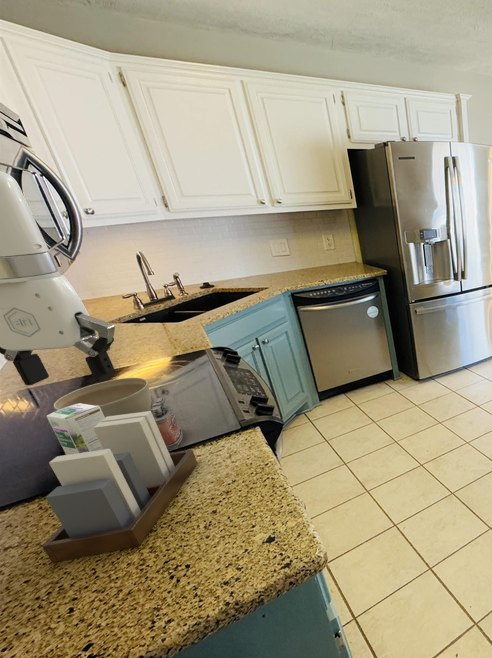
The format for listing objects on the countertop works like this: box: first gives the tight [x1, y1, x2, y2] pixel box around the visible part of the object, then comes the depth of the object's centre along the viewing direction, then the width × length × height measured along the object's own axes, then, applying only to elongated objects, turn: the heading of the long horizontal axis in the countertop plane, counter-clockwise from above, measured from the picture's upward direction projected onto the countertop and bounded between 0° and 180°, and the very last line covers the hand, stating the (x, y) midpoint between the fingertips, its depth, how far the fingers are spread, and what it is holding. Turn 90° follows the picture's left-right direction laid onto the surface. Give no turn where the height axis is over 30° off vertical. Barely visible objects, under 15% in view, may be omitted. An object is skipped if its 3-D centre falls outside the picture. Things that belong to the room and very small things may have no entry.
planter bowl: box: [53, 377, 152, 418], centre depth 96 cm, size 16×16×11 cm
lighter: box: [151, 397, 184, 450], centre depth 93 cm, size 8×3×10 cm, turn 30°
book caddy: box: [41, 449, 199, 564], centre depth 74 cm, size 12×23×4 cm, turn 16°
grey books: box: [45, 452, 151, 538], centre depth 68 cm, size 7×9×12 cm
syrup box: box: [46, 403, 105, 455], centre depth 82 cm, size 6×6×14 cm
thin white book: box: [48, 449, 141, 521], centre depth 67 cm, size 7×2×15 cm, turn 106°
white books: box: [93, 410, 175, 487], centre depth 78 cm, size 7×4×15 cm, turn 106°
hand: (72, 379), depth 63 cm, fingers open, 9 cm apart
